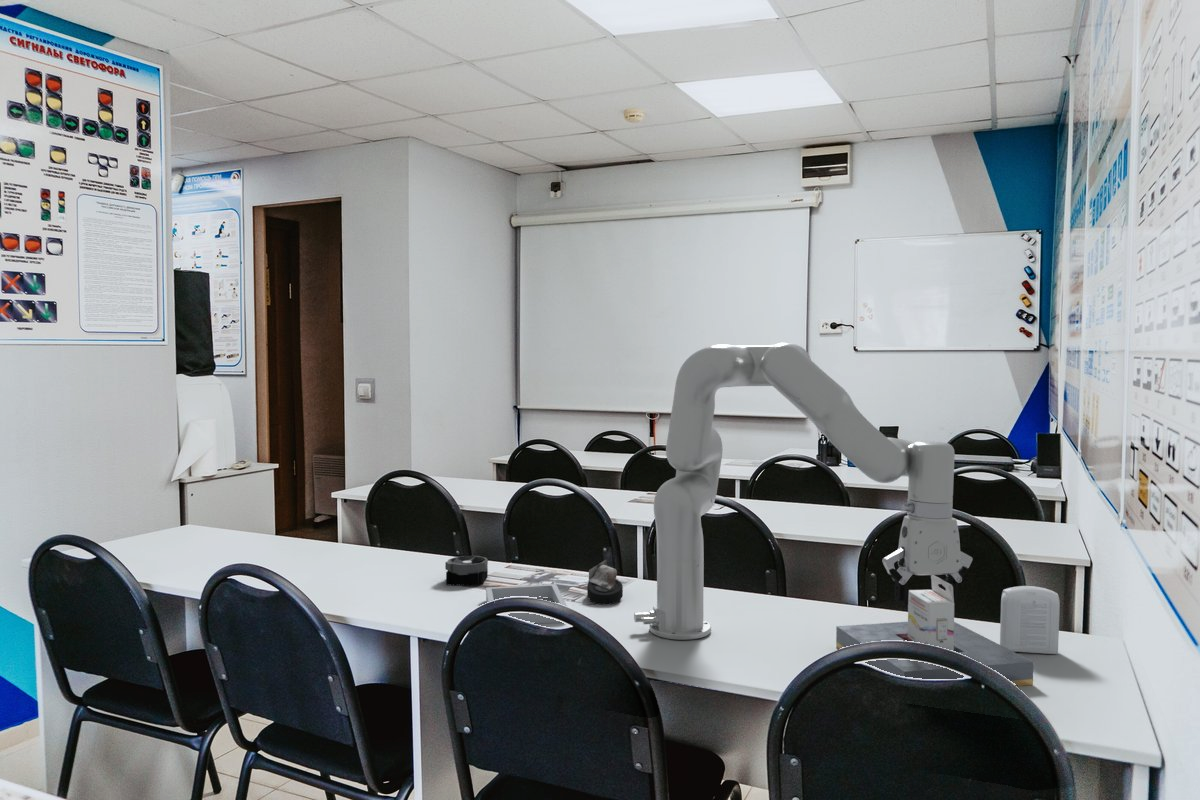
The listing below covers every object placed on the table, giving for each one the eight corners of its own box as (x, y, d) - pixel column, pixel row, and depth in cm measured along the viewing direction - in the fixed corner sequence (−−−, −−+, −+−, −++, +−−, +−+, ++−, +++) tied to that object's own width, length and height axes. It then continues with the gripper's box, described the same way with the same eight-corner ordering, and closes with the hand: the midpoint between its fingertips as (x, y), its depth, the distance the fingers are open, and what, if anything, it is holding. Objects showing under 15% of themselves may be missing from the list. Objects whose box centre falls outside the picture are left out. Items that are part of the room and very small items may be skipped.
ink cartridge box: (905, 651, 153) (906, 573, 153) (931, 650, 154) (932, 572, 153) (928, 668, 145) (929, 585, 144) (954, 667, 145) (956, 585, 145)
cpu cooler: (490, 554, 213) (483, 564, 203) (491, 576, 213) (484, 587, 203) (451, 554, 214) (442, 564, 204) (451, 576, 214) (442, 586, 204)
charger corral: (490, 626, 172) (490, 612, 172) (486, 600, 191) (486, 587, 191) (568, 621, 175) (567, 607, 175) (556, 596, 194) (556, 584, 194)
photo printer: (1053, 648, 158) (1054, 584, 158) (1062, 656, 154) (1063, 590, 153) (996, 645, 160) (997, 582, 159) (1003, 653, 155) (1004, 588, 155)
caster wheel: (607, 616, 187) (574, 602, 193) (637, 596, 195) (605, 583, 201) (607, 590, 185) (573, 577, 191) (637, 571, 193) (604, 558, 199)
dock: (903, 695, 136) (904, 671, 135) (836, 646, 159) (836, 626, 159) (1032, 684, 140) (1033, 661, 140) (948, 638, 164) (948, 618, 163)
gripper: (897, 514, 143) (893, 611, 144) (986, 513, 146) (981, 607, 147) (874, 507, 151) (871, 599, 151) (960, 505, 154) (956, 595, 155)
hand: (926, 603), depth 149 cm, fingers open, 9 cm apart
